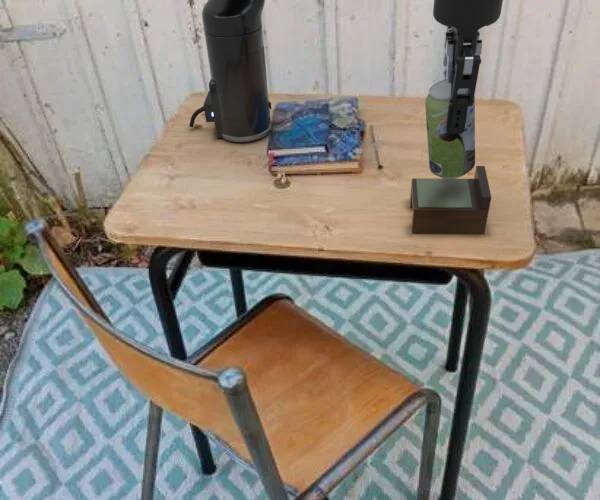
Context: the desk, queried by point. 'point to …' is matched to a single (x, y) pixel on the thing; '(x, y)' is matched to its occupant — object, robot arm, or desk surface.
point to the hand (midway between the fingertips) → (452, 119)
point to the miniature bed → (450, 205)
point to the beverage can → (448, 135)
